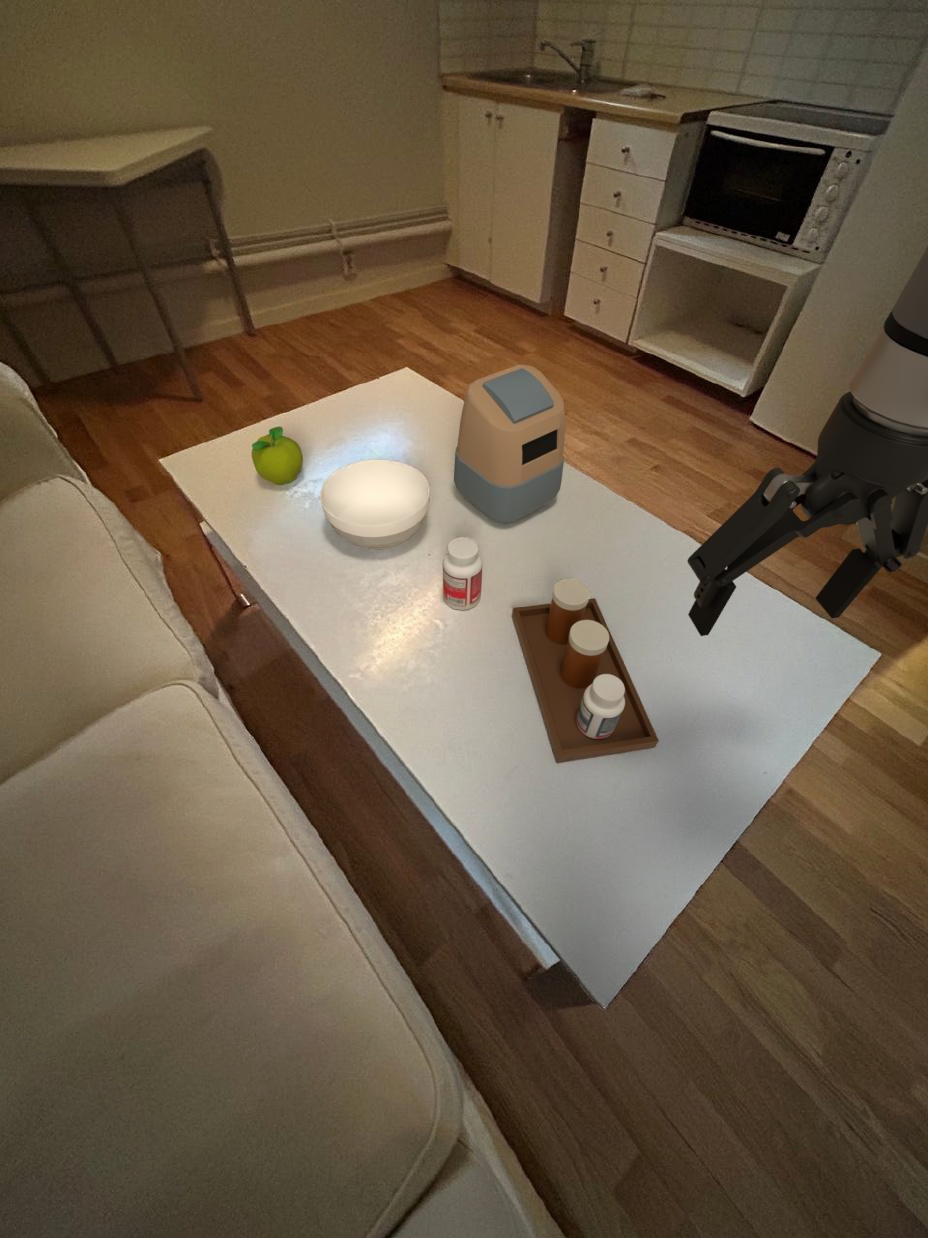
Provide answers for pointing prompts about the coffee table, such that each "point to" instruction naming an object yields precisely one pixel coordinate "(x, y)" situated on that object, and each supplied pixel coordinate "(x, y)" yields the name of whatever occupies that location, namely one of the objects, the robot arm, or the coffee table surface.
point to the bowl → (376, 502)
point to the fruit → (277, 457)
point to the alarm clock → (510, 443)
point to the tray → (577, 690)
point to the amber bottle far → (566, 608)
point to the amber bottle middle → (583, 653)
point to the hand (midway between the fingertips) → (763, 616)
